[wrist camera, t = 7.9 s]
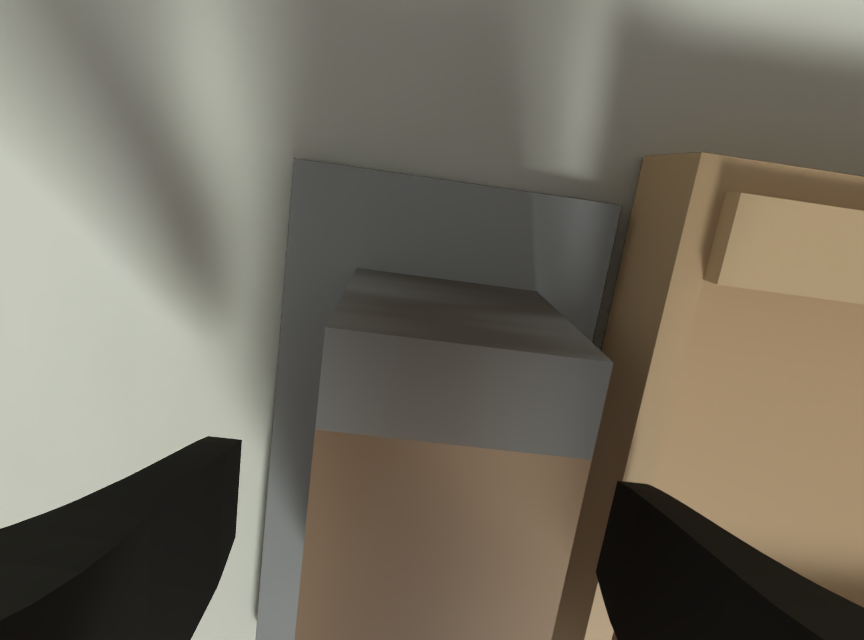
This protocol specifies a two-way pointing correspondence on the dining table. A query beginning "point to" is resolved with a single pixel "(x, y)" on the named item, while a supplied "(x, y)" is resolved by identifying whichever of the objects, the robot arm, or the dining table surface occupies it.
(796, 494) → the shallow wooden tray
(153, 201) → the dining table surface
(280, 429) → the mat
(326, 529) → the box
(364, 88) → the dining table surface
